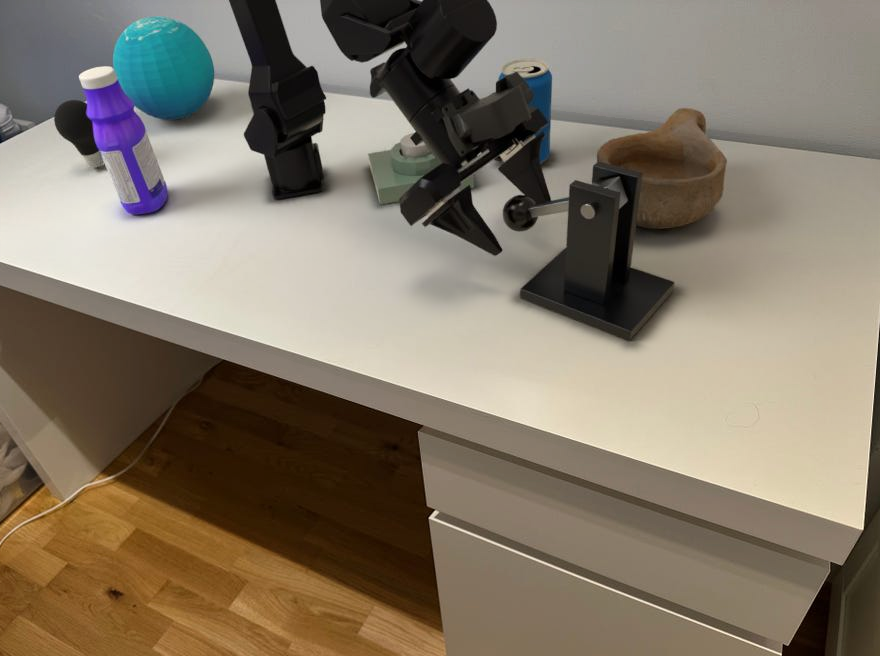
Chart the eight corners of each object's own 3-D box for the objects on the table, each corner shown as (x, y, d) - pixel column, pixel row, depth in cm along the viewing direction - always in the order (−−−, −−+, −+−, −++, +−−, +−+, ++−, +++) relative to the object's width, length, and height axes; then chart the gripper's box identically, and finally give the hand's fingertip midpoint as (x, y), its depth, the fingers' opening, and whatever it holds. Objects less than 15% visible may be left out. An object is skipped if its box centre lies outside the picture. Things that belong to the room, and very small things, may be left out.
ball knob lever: (503, 240, 71) (490, 208, 70) (523, 223, 73) (510, 192, 72) (614, 221, 61) (601, 184, 60) (634, 203, 63) (621, 166, 62)
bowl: (597, 152, 89) (628, 76, 81) (705, 190, 87) (747, 116, 79) (567, 224, 77) (600, 143, 69) (691, 270, 75) (738, 192, 68)
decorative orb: (243, 100, 117) (217, 3, 107) (190, 139, 108) (156, 37, 97) (171, 94, 122) (140, 2, 112) (114, 132, 113) (75, 34, 103)
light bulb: (68, 175, 102) (37, 109, 96) (96, 157, 106) (67, 92, 99) (99, 179, 100) (69, 112, 94) (126, 160, 104) (99, 94, 97)
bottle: (133, 193, 96) (79, 64, 84) (174, 187, 96) (126, 58, 84) (121, 220, 91) (62, 87, 79) (164, 215, 91) (111, 80, 79)
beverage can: (547, 171, 89) (550, 77, 81) (497, 171, 90) (494, 78, 82) (550, 148, 94) (554, 56, 86) (502, 148, 95) (501, 57, 87)
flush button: (404, 162, 87) (403, 148, 86) (399, 148, 90) (398, 135, 89) (436, 156, 87) (434, 143, 86) (430, 142, 90) (428, 130, 89)
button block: (380, 204, 87) (375, 175, 84) (370, 168, 95) (365, 140, 92) (474, 188, 88) (472, 158, 85) (457, 153, 95) (455, 125, 93)
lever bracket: (519, 298, 71) (519, 183, 62) (566, 255, 75) (573, 142, 67) (629, 341, 64) (646, 220, 56) (673, 291, 69) (695, 172, 60)
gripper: (409, 92, 58) (521, 244, 59) (534, 22, 68) (627, 154, 69) (355, 159, 67) (453, 288, 69) (472, 89, 77) (555, 204, 79)
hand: (525, 231), depth 71 cm, fingers open, 9 cm apart
